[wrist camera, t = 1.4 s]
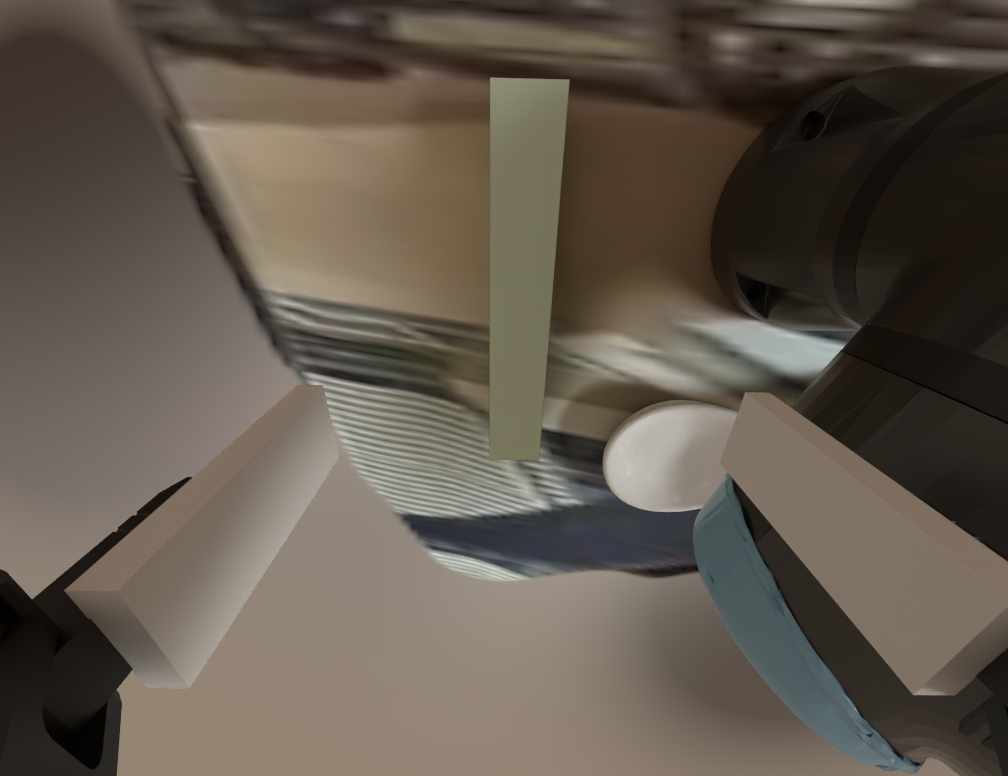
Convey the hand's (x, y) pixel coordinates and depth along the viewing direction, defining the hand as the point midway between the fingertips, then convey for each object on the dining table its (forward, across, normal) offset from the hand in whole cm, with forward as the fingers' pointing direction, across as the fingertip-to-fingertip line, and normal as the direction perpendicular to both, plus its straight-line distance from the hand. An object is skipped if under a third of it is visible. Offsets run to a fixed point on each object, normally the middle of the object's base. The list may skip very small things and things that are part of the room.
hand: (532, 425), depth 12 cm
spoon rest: (+18, -19, +11) cm, 29 cm away
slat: (+18, 0, 0) cm, 18 cm away
